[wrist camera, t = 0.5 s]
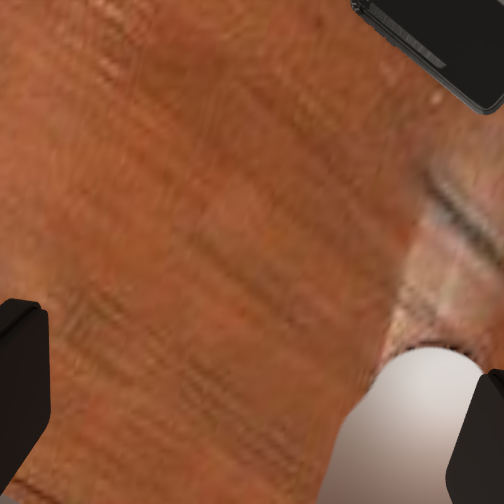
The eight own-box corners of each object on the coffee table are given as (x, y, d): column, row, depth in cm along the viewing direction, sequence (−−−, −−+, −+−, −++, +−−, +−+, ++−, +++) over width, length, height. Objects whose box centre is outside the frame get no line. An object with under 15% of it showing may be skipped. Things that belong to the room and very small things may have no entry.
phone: (415, -98, 34) (563, 36, 36) (411, -93, 35) (555, 37, 37) (344, 2, 37) (486, 122, 39) (342, 4, 38) (481, 120, 40)
